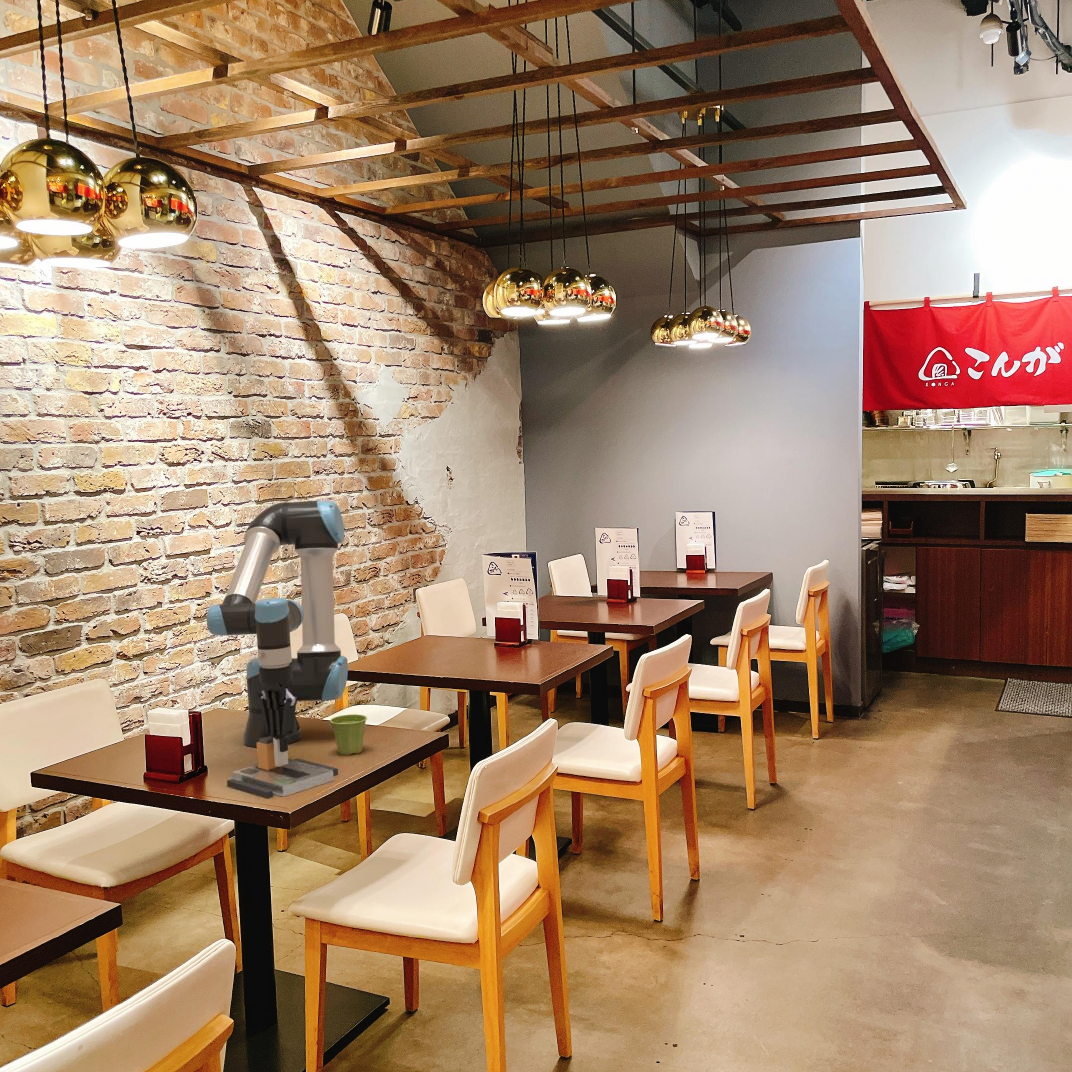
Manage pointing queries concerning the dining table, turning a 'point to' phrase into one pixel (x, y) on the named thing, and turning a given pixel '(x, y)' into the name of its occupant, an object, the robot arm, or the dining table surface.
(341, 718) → the plant pot
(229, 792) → the dining table surface
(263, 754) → the tan rectangular block
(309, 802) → the dining table surface
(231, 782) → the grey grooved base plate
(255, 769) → the panel
